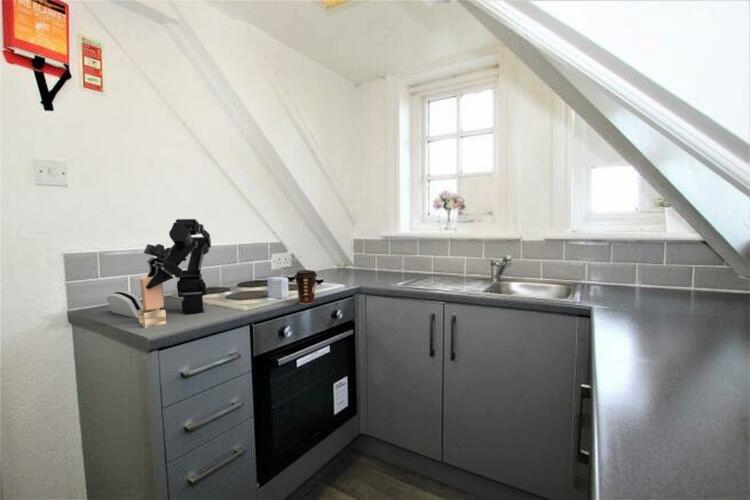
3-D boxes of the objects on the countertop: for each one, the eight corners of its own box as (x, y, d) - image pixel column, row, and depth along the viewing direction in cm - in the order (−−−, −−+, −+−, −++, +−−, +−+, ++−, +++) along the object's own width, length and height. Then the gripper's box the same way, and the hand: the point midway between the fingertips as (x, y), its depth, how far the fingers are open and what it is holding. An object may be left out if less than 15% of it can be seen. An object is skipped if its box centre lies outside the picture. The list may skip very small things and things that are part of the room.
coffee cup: (312, 299, 151) (312, 269, 150) (321, 303, 144) (320, 271, 143) (293, 302, 146) (292, 270, 145) (300, 306, 140) (299, 273, 138)
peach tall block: (161, 304, 122) (158, 275, 121) (165, 306, 119) (161, 277, 118) (143, 308, 118) (139, 278, 117) (146, 310, 115) (143, 279, 114)
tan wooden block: (159, 319, 123) (158, 306, 123) (166, 323, 118) (165, 310, 118) (138, 323, 119) (137, 309, 118) (145, 327, 114) (144, 313, 113)
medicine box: (288, 297, 156) (288, 277, 156) (282, 299, 152) (281, 279, 152) (274, 295, 160) (274, 276, 159) (267, 297, 156) (267, 278, 155)
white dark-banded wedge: (151, 314, 130) (140, 290, 126) (139, 322, 126) (126, 297, 122) (126, 309, 138) (115, 286, 134) (114, 316, 134) (102, 293, 131)
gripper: (151, 234, 125) (116, 269, 118) (169, 236, 112) (130, 275, 105) (177, 255, 132) (145, 289, 125) (197, 258, 119) (162, 297, 112)
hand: (145, 287), depth 116 cm, fingers closed on peach tall block, 4 cm apart
